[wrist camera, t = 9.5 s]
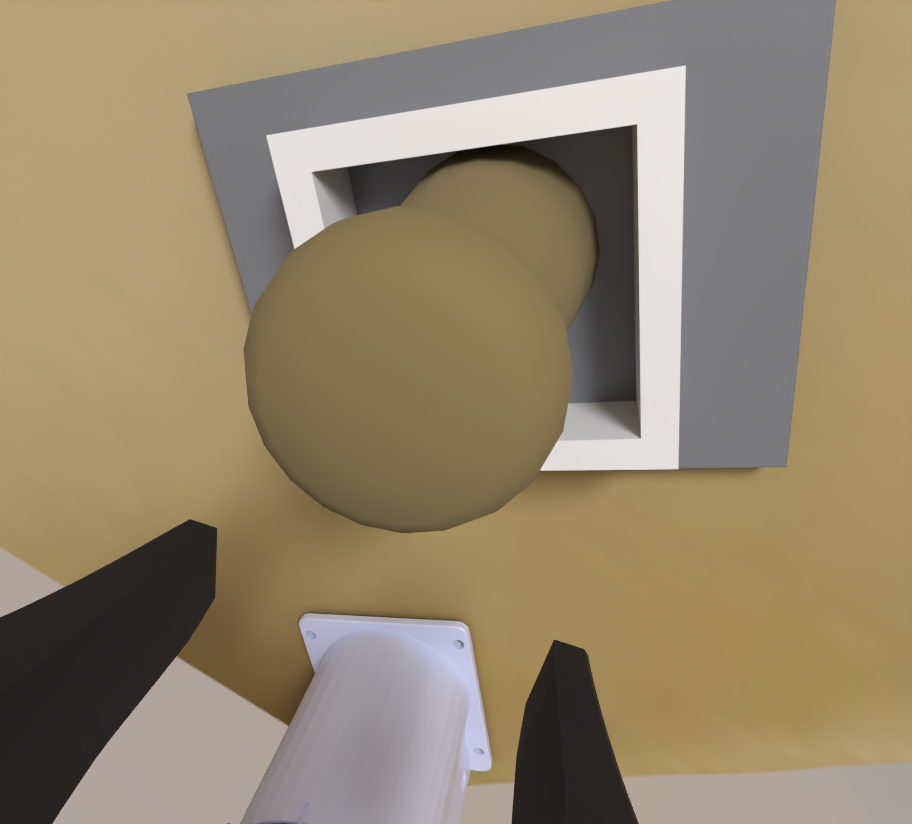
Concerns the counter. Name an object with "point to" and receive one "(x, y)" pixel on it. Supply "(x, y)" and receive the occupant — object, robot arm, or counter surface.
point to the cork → (427, 343)
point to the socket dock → (606, 189)
